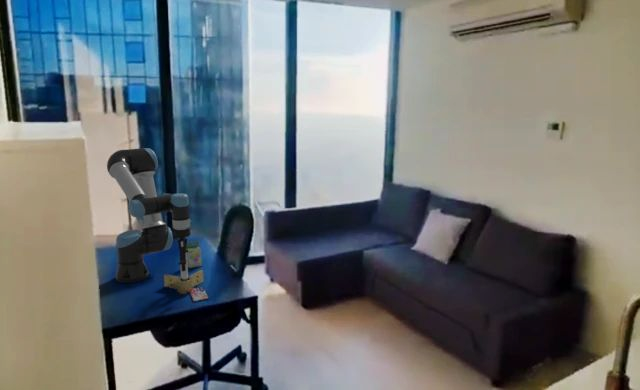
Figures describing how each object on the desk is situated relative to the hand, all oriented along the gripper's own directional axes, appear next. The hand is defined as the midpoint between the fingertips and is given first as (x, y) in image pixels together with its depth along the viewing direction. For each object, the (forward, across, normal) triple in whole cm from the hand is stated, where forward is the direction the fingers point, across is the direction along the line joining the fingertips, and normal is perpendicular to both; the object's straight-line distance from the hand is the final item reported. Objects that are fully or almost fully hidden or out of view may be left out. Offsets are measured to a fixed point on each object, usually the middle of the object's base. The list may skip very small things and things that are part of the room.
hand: (184, 271), depth 210 cm
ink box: (+10, +31, -4) cm, 32 cm away
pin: (+10, 0, 0) cm, 10 cm away
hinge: (+10, +5, -1) cm, 11 cm away
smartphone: (+10, -5, -6) cm, 13 cm away
